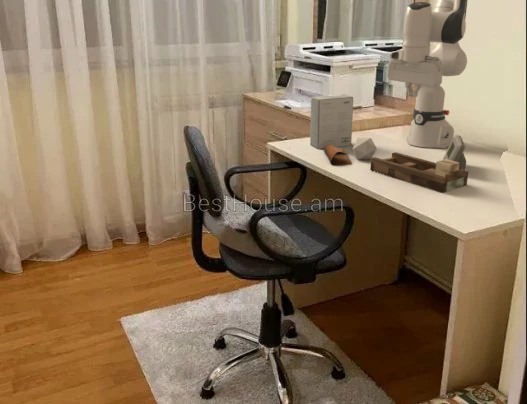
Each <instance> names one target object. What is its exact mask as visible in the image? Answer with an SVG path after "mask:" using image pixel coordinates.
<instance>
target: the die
mask: <svg viewBox="0 0 527 404" xmlns="http://www.w3.org/2000/svg"><path fill="white" fill-rule="evenodd" d="M351 149H352V152H353V154H354V156H355V158H356V159H357V160H358V161H362V160H363V161H369V160H370V161H371V158H374V155H375V152H376V151H377V146H376V144H375V143H374V141H373V138H371V137H356V141H355V143H354V145H353V147H352V148H351Z"/></svg>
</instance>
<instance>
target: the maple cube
mask: <svg viewBox="0 0 527 404" xmlns="http://www.w3.org/2000/svg"><path fill="white" fill-rule="evenodd" d="M435 163H436V171H435V174H436V175H439V176H443V177H445V174H448V173H451V172H454V171H458V170H459V162H455V161H451V160H447V159H445V160H443V159H441V160H438V161H435Z"/></svg>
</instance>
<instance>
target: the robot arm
mask: <svg viewBox="0 0 527 404" xmlns="http://www.w3.org/2000/svg"><path fill="white" fill-rule="evenodd" d="M467 8H468V0H435V3H434V6H433V9H432V4H431V3H430V2H427V1H426V2H425V1H419V2H418V1H417V2H412V3H410V4H408V5H407V7H406V10H405V15H404V23H403V41H402V48H400V49H398V50H396V51H391V52H389V54H388V55H389V60H388V63H387V70H386V71H387V74H386V76H387V79H388V80H389V81H393V82H394V81H396V82H399V83H400V82H401V83H404V85H405V88H406V91H407V97H410V98H415V103H414V104H415V105H414V108H413V111H412V117H413V120H411V122H410V126H409V133H408V136H407V137H406V141H407V144H409V145H411V146H414V147H420V148H426V149H427V148H428V149H429V148H435V149H436V148H437V149H446V148H449V146H450V144H451V142H452V140H453V139H454V137H455V136H454V134H455V133H454V132H455V131H454V130H455V129H454V127H453V126H452V125H451V124H450V122H448V120H446V116H449V114H450V113H451V112H450V110H448V109H444V105H445V97H446V91H445V89H444V88H443V87H442V85H441V84H442V83H443V77H455V76H460V75H462V73H463V72H464V71H465V69H466V67H467V64H468V57H467V55H466V52H465V51H464V50H463V48H462V47H461V45H460V44H459V41H461V40H462V39H463V38H464V35H465V33H466V27H467V24H466V23H467V22H466V18H467V17H466V16H467ZM431 43H436V45H431ZM412 86H413V88H414V90H413V88H412Z"/></svg>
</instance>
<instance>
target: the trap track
mask: <svg viewBox="0 0 527 404" xmlns="http://www.w3.org/2000/svg"><path fill="white" fill-rule="evenodd" d="M370 170H372V171H371V172H373V171H375V172H374V173H377V172H378V174H380V173H381V175H383V174H384V175H383V176H386V175H387V177H390V176H391V177H390V178H393V179H397V180H400V181H403V182H406V183H410V184H413V185H416V186H419V187H422V188H425V189H429V190H432V191H436V192H438V193H442V194H443V193H446V192H449V191H452V190H455V189H458V188H459V189H460V188H461V187H464V186H467V185H468V178H469V171H468V170H466V169H465V170H464V169H461V170H460V169H459V170H458V171H454V172H451V173H448V174H445V177H443V176H439V175H436V174H435V171H436V162H434V161H430V160H426V159H422V158H419V157H415V156H412V155H408V154H404V153H400V152H392V153H391V156H390V157H388V158H379V157H377V156H375V157H374V156H373V157H372V158H371V160H370Z"/></svg>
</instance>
